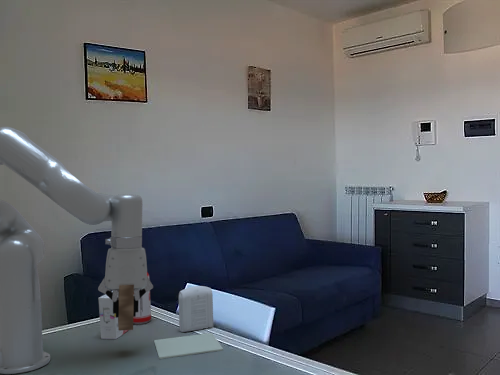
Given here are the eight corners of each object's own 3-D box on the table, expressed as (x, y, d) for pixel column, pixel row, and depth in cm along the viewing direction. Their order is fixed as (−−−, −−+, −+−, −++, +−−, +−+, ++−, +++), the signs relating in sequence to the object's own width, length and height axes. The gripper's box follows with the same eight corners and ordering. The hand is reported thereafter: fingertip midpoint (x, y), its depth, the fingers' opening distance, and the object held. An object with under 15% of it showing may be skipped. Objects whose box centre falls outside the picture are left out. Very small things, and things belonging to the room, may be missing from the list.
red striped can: (145, 318, 158) (143, 268, 158) (155, 321, 154) (152, 270, 153) (127, 322, 154) (125, 271, 154) (136, 326, 150) (134, 273, 149)
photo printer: (210, 324, 149) (208, 283, 149) (215, 327, 145) (214, 285, 145) (177, 329, 144) (175, 287, 144) (182, 333, 141) (180, 290, 140)
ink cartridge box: (113, 329, 147) (111, 280, 147) (129, 330, 146) (127, 280, 146) (99, 339, 139) (97, 286, 138) (116, 339, 138) (113, 286, 137)
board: (159, 359, 121) (159, 357, 121) (153, 341, 134) (153, 340, 134) (223, 350, 125) (223, 348, 125) (211, 334, 139) (211, 332, 139)
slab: (118, 330, 122) (119, 285, 122) (117, 322, 128) (118, 280, 128) (133, 329, 123) (133, 285, 123) (131, 322, 129) (132, 279, 129)
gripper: (91, 245, 120) (90, 321, 120) (161, 244, 124) (160, 317, 124) (92, 242, 127) (91, 313, 127) (158, 241, 131) (157, 310, 132)
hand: (125, 315), depth 126 cm, fingers closed on slab, 3 cm apart
